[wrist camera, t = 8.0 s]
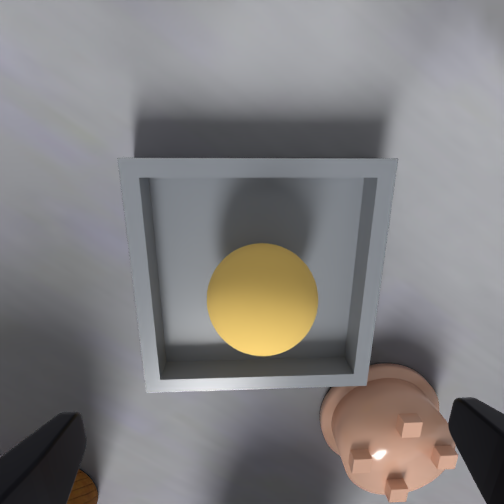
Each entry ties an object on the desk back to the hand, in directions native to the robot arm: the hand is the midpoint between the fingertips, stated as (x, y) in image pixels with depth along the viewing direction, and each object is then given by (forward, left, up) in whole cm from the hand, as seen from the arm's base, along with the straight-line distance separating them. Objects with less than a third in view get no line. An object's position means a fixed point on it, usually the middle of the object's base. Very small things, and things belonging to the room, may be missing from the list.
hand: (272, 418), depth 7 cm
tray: (0, 0, -10) cm, 10 cm away
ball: (0, 0, -9) cm, 9 cm away
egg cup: (-8, +10, -10) cm, 16 cm away
